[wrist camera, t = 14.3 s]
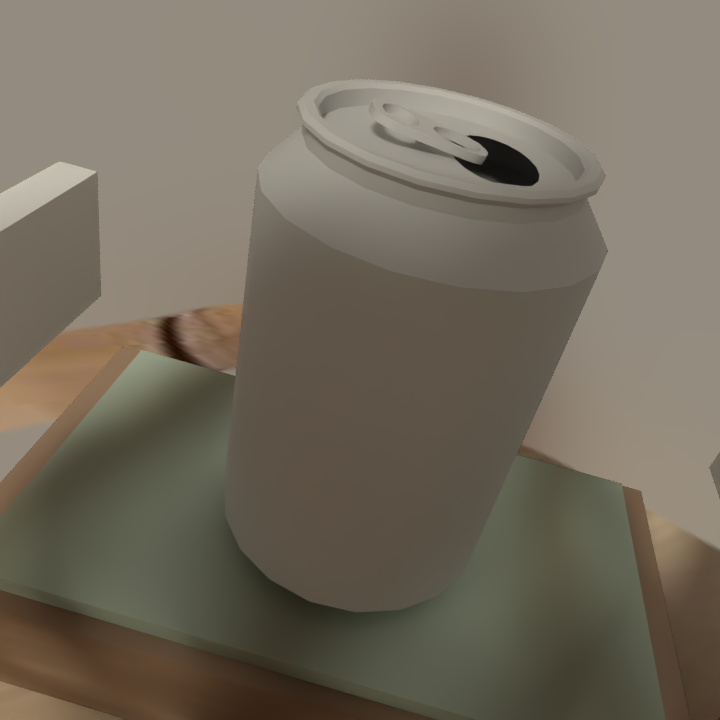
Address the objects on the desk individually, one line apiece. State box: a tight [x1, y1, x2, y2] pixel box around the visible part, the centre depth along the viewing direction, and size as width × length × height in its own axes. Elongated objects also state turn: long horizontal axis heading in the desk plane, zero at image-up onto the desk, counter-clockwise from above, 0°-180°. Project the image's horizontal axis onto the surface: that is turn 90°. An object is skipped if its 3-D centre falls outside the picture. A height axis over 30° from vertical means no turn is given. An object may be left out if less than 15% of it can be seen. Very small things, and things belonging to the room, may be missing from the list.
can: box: [224, 79, 608, 612], centre depth 17 cm, size 8×8×12 cm
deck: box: [0, 347, 691, 720], centre depth 22 cm, size 20×11×4 cm, turn 79°
